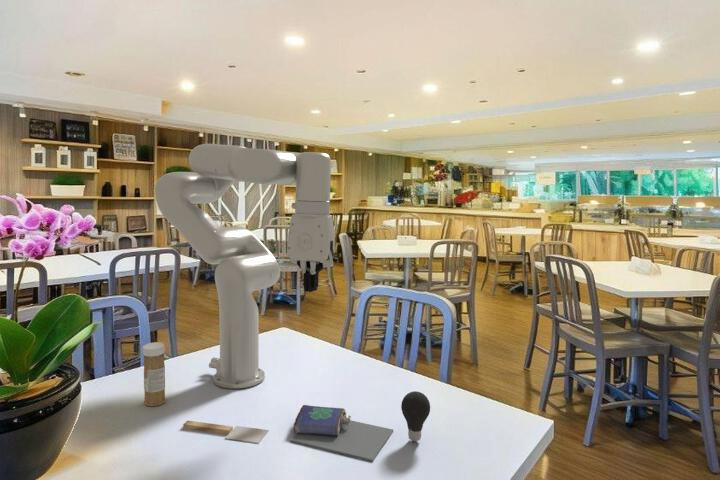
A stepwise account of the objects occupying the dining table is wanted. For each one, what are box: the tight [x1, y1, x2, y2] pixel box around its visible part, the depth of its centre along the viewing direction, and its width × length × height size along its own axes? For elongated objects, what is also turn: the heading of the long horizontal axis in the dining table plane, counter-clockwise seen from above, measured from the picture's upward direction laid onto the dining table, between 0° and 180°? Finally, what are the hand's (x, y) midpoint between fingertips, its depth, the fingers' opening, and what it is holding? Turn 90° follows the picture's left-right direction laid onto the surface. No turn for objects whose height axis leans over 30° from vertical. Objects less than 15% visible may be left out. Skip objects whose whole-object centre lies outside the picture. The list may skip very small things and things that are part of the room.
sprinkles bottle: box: [142, 341, 166, 407], centre depth 108 cm, size 5×5×14 cm
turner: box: [182, 420, 269, 445], centre depth 97 cm, size 17×5×1 cm, turn 78°
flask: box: [293, 404, 352, 436], centre depth 99 cm, size 9×3×11 cm
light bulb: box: [400, 391, 431, 443], centre depth 94 cm, size 6×6×10 cm
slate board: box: [290, 419, 394, 463], centre depth 96 cm, size 17×12×1 cm
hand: (310, 290), depth 109 cm, fingers closed
